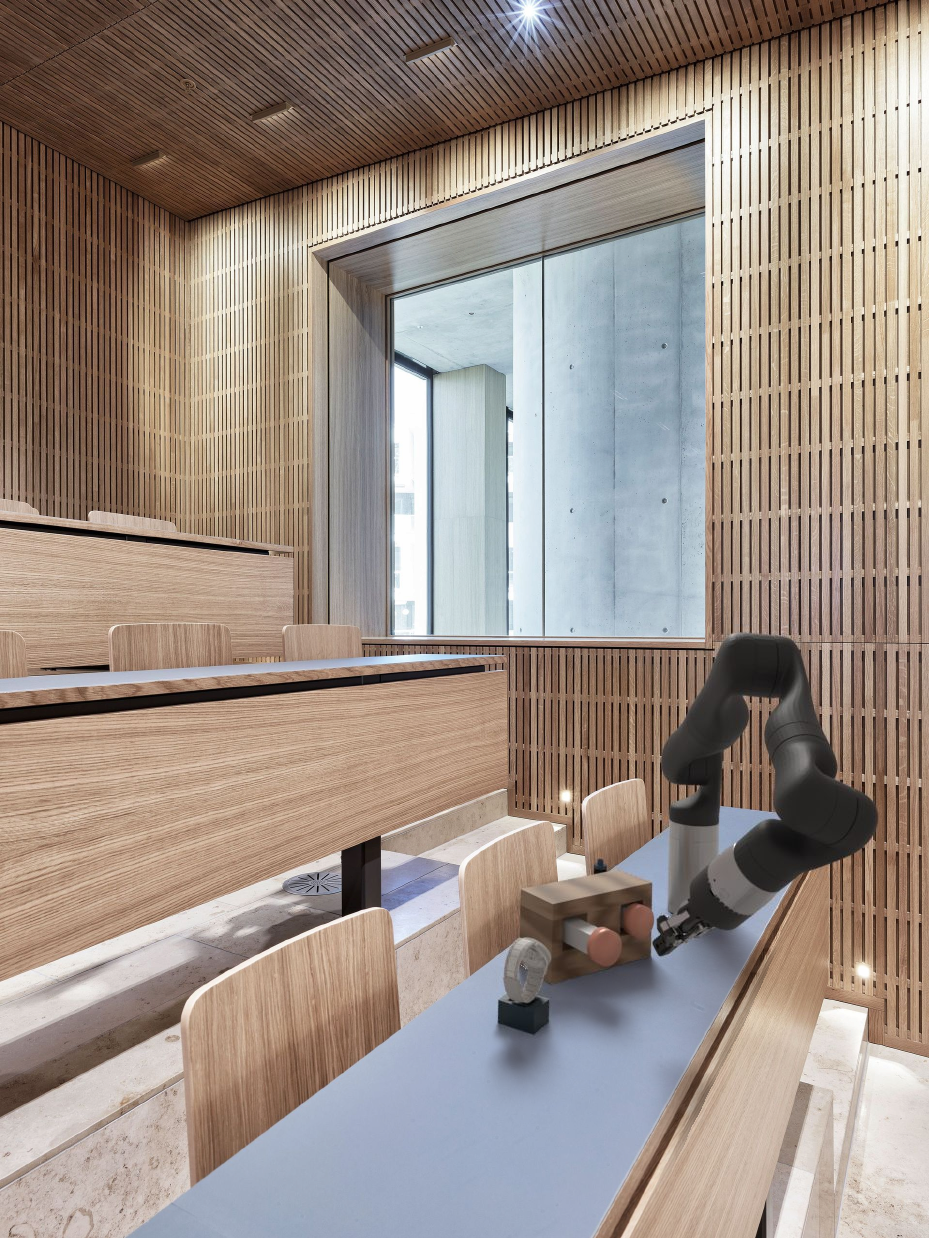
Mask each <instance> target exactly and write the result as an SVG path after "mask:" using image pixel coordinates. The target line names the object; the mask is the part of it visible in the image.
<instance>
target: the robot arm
mask: <svg viewBox="0 0 929 1238" xmlns="http://www.w3.org/2000/svg"><path fill="white" fill-rule="evenodd" d="M804 662H805V661H804V659H803V655H802V653H801V651H800V648H799V647H798V645H797V644H796V642H795V640H793V639H791V638H790V637H787V636H783V635H778V634H777V635H776V634H768V633H767V634H765V633H754V632H735V633H731V634H729V635H727V636H726V637H725V639H723V642H721V645H720V647H719V648H718V651H717V653H716V656H715V658H714V661H713V664H712V666H711V669H710V672H709V674H708V676H707V679H706V680H705V682H704V684H703V686H702V688H701V689H700V692H699V693H698V695H697V696H696V698H695V699H694V700H693V702H692V704H691V706H690V707H689V709H688V711H687V714H686V715H685V718H684V719H683V721H682V723H680V725H679V726H678V727H677V728H676V730H675V731H673V732H672V734H671V735H670V736H669V737H668V738H667V739H666V742H665V743H664V746H663V748H662V751H661V759H660V766H661V767H660V768H661V771H662V774H663V776H664V778H665V779H666V781H668V782H669V783H671V784H675V785H677V786H679V785H680V786H698V787H699V788H698V789H697V790H696V791H695V792H694V793H693V794H691V795H689V796H688V797H685V798H683V799H679V800H676V801H674V802H673V803H671V804H670V805H669V808H668V809H669V810H668V859H667V860H668V863H667V864H668V867H667V872H668V873H667V878H668V879H667V910H668V911H669V912H670V913H672V914H671V915H670V916H669V915H666V914H661V915H659V916H658V917H657V918H656V930H657V931H658V933H659V935H658V936H657V937H655V938H654V939H653V940H652V941H651V945H652V947H653V949H654V950H655V952H656V954H657V956H658V957H664V956H668V955H669V954H671V953H672V952H674V951H675V950H676V949H677V948H678V947H680V946H681V945H682V944H687V943H688V942H690V941H691V940H692V939H699V938H700V937H702V936H704V935H705V934H706V933H708V932H710V931H712V930H714V929H719V930H721V931H732V930H735V929H737V928H739V927H740V926H741V925H742V924H744V923H745V922H746V921H747V920H749V918H750V919H751V917H752V916H754V915H755V914H756V913H757V912H759V911H760V910H761V909H763V908H764V907H765V906H766V905H768V904H769V903H771V901H772V900H773V899H774V898H775V897H776V895H777V894H778V893H780V891H781V890H783V889H784V888H785V887H787V886H788V885H790V883H792V882H793V881H794V880H796V879H797V878H799V876H801V875H802V874H804V873H808V872H810V871H814V870H817V869H819V868H823V867H825V866H829V865H830V864H833V863H836V862H838V861H840V860H843V859H846V858H848V857H850V856H852V855H855V854H856V853H858V852H859V851H861V850H862V849H863V848H864V847H866V845H867V844H868V843H869V842H870V841H871V839H872V838H873V836H874V835H875V832H876V830H877V829H878V828H877V827H878V825H879V812H878V808H877V806H876V803H875V802H874V801H873V800H872V799H871V797H869V796H868V795H867V794H865V793H864V792H862V791H861V790H859V789H857V788H855V787H852V786H850V785H847V784H845V783H844V782H841V781H839V780H838V779H836V777H837V774H838V761H837V758H836V755H835V752H834V750H833V747H832V746H831V744H830V742H829V740H828V739H827V736H826V735H825V732H824V731H823V728H822V726H821V724H820V721H819V719H818V716H817V713H816V709H815V705H814V701H813V696H812V691H811V687H810V682H809V678H808V674H807V671H806V667H805V663H804ZM744 696H745V697H752V698H753V697H755V698H765V699H779V700H780V701H779V703H778V704H776V707H775V708H774V709H773V710H772V712H771V713H770V714H769V716H768V718H767V720H766V722H765V725H764V733H763V737H764V745H765V747H766V751H767V754H768V756H769V758H770V761H771V764H772V767H773V769H774V787H773V796H772V797H773V798H772V799H773V800H772V801H773V803H772V805H773V808H774V811H775V813H776V815H777V816H778V818H779V819H777V818H768V819H767V818H766V819H764V820H762V821H760V822H759V823H757V824H756V825H755V826H753V827H752V828H751V829H750V830H749V831H748V832H747V833H745V834H744V835H743V836H742V837H741V838H739V840H738V841H736V842H735V843H734V844H732V845H731V846H729V847H727V848H725V849H724V850H722V852H721V853H720V854H719V847H720V846H719V845H720V843H719V842H720V812H721V811H720V810H721V792H722V781H723V780H722V779H723V766H724V764H723V763H724V762H723V761H724V759H723V758H724V757H723V752H724V751H725V750H728V749H729V748H731V746H733V745H734V744H735V743H737V741H738V739H740V738H741V736H742V735H743V733H744V732H745V730H746V729H747V726H748V725H749V720H750V711H749V707H748V704H747V702H746V699H745V698H744Z"/></svg>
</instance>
